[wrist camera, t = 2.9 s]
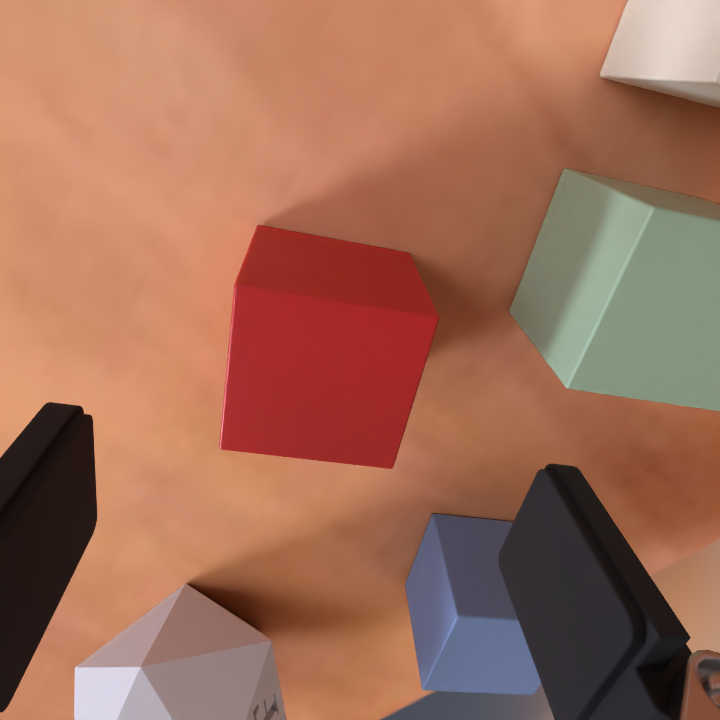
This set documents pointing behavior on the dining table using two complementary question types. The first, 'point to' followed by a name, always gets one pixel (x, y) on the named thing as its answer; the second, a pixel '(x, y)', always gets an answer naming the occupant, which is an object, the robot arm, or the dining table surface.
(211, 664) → the die
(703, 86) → the cream block
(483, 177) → the dining table surface
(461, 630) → the blue block
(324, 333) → the red block
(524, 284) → the sage block
